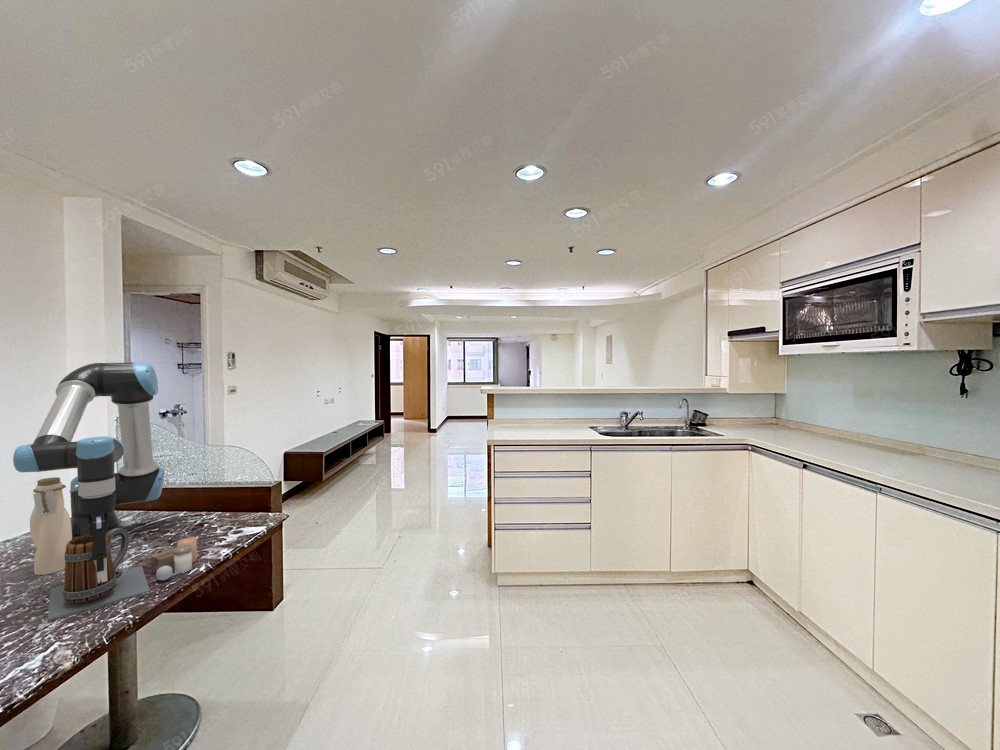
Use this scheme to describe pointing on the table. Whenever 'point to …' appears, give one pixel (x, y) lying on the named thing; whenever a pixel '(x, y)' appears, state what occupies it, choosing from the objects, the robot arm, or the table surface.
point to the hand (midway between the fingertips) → (99, 575)
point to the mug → (90, 568)
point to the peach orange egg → (193, 543)
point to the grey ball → (164, 573)
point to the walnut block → (162, 560)
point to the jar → (182, 558)
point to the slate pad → (125, 588)
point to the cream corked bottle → (49, 526)
